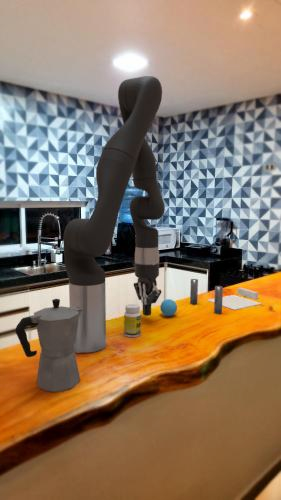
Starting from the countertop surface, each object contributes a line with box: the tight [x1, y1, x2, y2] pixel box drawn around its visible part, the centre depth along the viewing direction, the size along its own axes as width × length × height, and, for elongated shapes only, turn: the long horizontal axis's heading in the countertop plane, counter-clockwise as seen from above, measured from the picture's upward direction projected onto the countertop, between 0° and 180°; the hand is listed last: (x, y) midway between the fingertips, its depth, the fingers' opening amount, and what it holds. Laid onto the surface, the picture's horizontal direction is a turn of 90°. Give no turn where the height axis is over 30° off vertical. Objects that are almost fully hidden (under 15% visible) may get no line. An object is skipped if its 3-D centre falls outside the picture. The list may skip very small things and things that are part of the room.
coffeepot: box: [15, 298, 84, 393], centre depth 76 cm, size 15×9×18 cm, turn 134°
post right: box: [213, 285, 224, 315], centre depth 123 cm, size 3×3×9 cm
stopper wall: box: [237, 287, 259, 300], centre depth 144 cm, size 2×9×2 cm, turn 32°
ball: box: [159, 299, 178, 317], centre depth 120 cm, size 6×6×6 cm
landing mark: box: [206, 294, 263, 311], centre depth 136 cm, size 14×14×1 cm
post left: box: [189, 278, 199, 306], centre depth 133 cm, size 3×3×9 cm
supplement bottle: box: [123, 303, 142, 338], centre depth 104 cm, size 5×5×8 cm
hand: (146, 314), depth 116 cm, fingers closed
